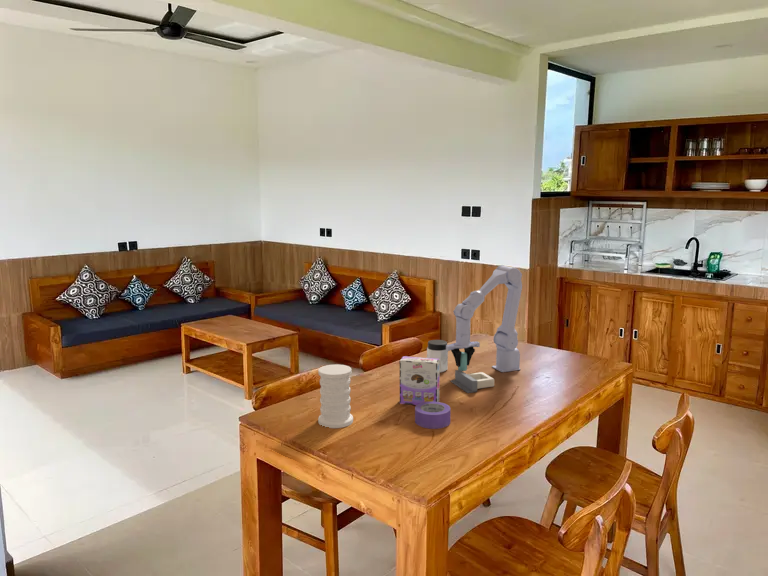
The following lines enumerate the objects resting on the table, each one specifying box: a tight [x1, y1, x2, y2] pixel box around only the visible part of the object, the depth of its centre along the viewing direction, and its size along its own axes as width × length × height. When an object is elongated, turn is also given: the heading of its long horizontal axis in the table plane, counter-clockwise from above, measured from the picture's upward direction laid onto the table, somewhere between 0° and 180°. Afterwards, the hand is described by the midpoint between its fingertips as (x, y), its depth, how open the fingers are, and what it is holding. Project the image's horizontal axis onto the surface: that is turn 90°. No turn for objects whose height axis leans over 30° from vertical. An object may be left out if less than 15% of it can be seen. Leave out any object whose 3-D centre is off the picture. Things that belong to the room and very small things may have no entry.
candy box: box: [398, 355, 441, 406], centre depth 212 cm, size 14×6×16 cm, turn 74°
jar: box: [426, 339, 449, 373], centre depth 250 cm, size 9×8×12 cm
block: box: [466, 371, 495, 390], centre depth 232 cm, size 9×9×3 cm
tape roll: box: [414, 401, 451, 430], centre depth 196 cm, size 12×12×5 cm
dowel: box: [457, 351, 468, 372], centre depth 242 cm, size 4×4×7 cm
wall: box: [450, 369, 478, 394], centre depth 230 cm, size 4×14×4 cm, turn 21°
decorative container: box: [317, 363, 354, 429], centre depth 195 cm, size 12×12×18 cm
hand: (462, 365), depth 242 cm, fingers closed on dowel, 4 cm apart
